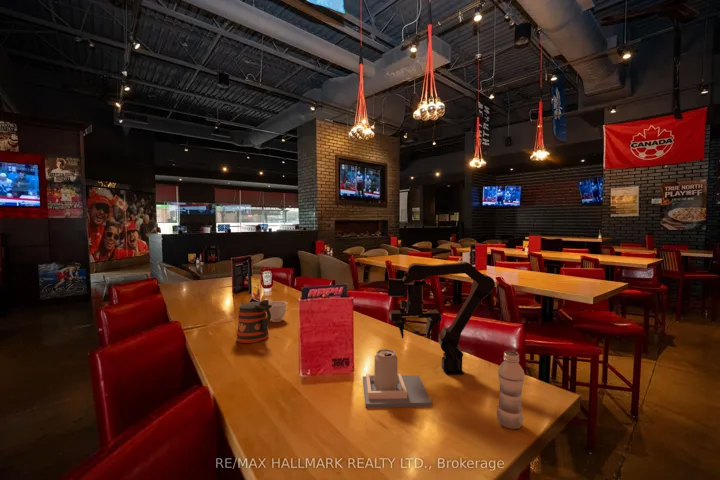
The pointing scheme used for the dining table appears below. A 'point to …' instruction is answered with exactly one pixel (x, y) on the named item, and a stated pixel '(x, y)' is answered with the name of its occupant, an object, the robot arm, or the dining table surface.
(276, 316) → the teacup
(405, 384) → the base board
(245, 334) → the beer stein
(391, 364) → the can
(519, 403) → the plastic bottle
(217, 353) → the dining table surface
